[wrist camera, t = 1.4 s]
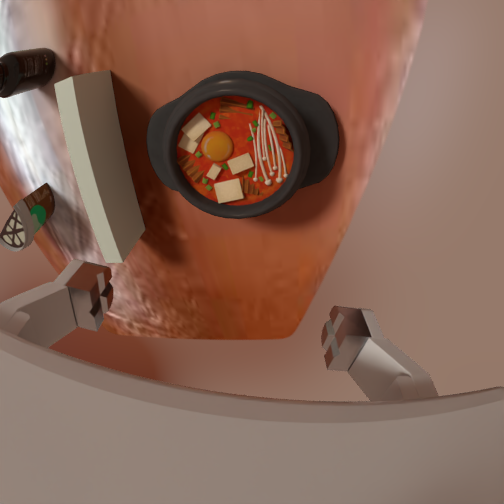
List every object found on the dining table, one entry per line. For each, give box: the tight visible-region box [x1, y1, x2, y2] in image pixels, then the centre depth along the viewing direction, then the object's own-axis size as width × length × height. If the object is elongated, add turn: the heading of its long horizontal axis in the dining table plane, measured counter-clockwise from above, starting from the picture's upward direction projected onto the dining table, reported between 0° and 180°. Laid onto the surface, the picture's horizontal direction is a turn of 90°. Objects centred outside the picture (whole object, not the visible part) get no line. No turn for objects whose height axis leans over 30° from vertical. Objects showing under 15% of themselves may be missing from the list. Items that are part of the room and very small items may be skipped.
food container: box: [0, 183, 55, 251], centre depth 42 cm, size 12×6×10 cm, turn 123°
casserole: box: [147, 71, 339, 219], centre depth 34 cm, size 25×19×8 cm
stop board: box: [54, 70, 145, 263], centre depth 36 cm, size 3×26×9 cm, turn 5°
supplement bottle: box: [0, 48, 55, 98], centre depth 26 cm, size 7×7×12 cm
